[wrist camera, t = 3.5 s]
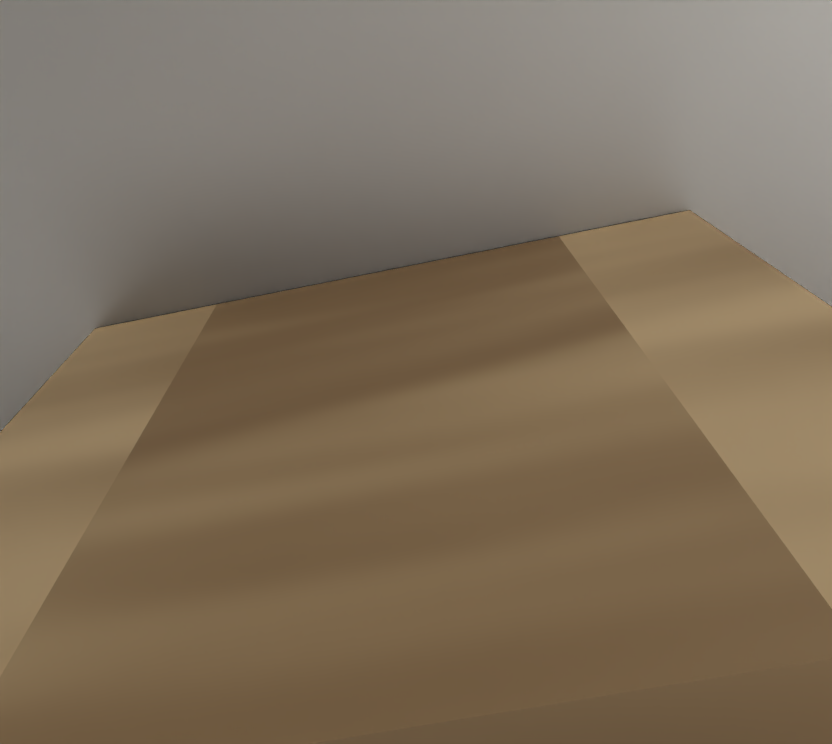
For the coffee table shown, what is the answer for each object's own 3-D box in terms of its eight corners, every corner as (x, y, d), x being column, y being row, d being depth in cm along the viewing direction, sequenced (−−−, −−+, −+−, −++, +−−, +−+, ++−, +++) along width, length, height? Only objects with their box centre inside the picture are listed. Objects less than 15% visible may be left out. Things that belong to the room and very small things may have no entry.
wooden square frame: (94, 328, 10) (-431, 900, 4) (689, 209, 10) (1296, 623, 3) (262, 728, 14) (146, 1383, 7) (705, 655, 13) (1011, 1284, 7)
